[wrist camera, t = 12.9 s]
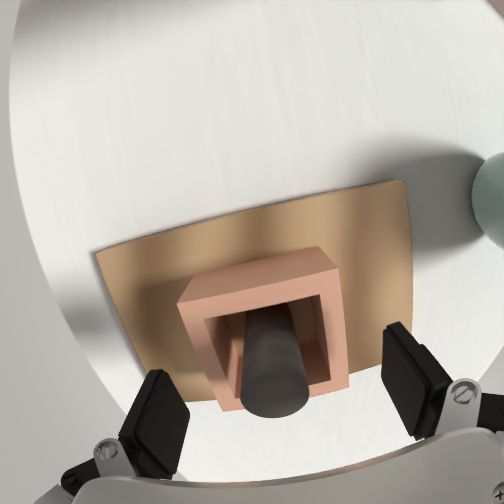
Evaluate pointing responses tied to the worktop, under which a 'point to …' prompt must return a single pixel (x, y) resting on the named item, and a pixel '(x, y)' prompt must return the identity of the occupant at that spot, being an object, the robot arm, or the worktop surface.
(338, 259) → the post board
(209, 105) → the worktop surface
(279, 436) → the worktop surface
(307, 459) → the worktop surface
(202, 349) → the collar
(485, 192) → the cup
